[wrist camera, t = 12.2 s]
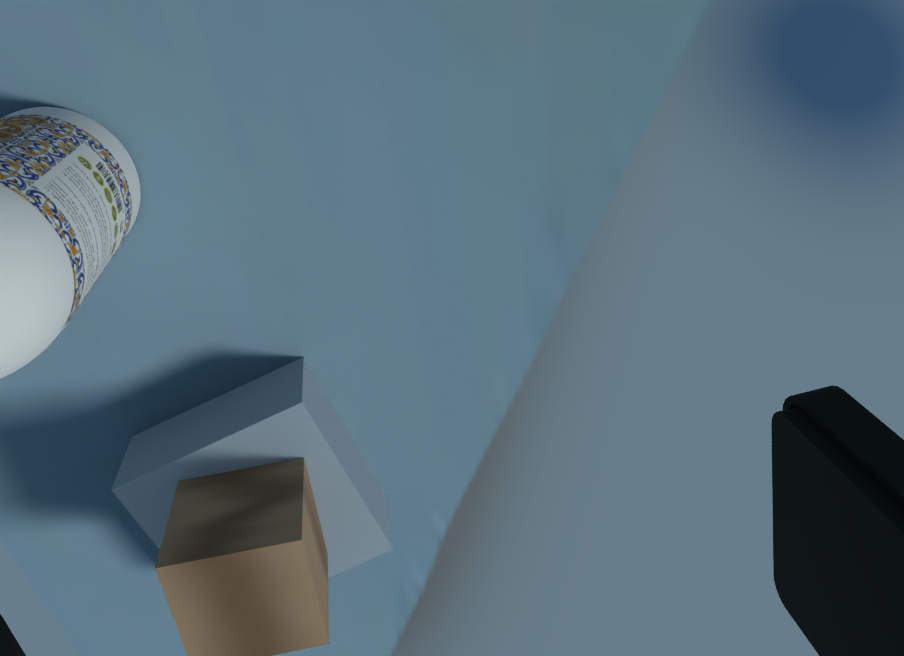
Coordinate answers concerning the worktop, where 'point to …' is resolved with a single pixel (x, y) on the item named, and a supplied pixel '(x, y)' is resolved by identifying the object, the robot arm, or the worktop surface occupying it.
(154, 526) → the base block
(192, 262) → the worktop surface
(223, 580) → the walnut cube
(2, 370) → the bath foam
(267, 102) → the worktop surface
